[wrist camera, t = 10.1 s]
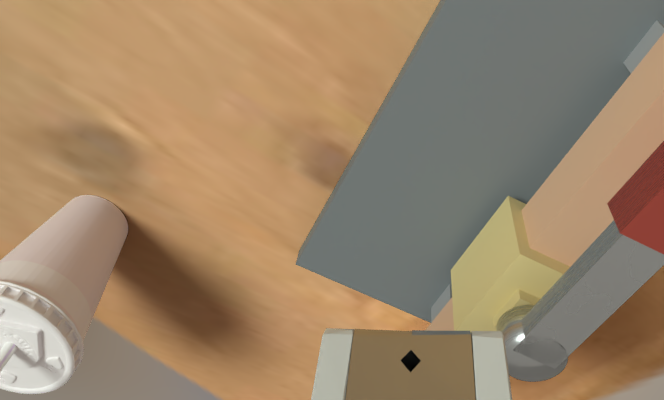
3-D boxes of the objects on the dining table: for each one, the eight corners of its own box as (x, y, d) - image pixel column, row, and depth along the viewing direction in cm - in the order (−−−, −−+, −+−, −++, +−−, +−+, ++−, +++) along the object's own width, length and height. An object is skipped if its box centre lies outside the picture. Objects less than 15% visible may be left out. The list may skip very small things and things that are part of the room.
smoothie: (174, 240, 36) (57, 458, 25) (96, 280, 39) (-42, 494, 27) (96, 155, 34) (-75, 353, 22) (18, 203, 36) (-172, 404, 25)
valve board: (498, -103, 25) (521, -65, 19) (787, 56, 27) (886, 133, 21) (299, 250, 36) (275, 342, 30) (514, 344, 38) (531, 447, 32)
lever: (537, 358, 28) (545, 398, 26) (482, 333, 28) (486, 373, 26) (775, 121, 21) (809, 154, 19) (705, 83, 20) (733, 113, 19)
